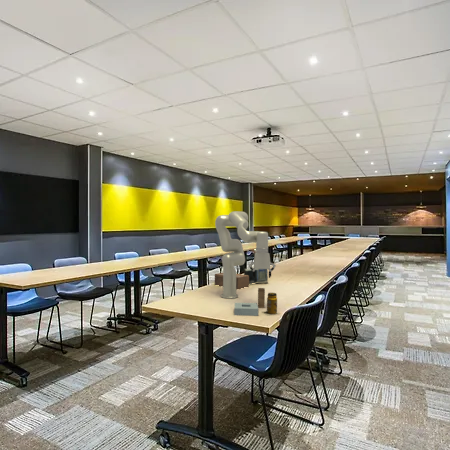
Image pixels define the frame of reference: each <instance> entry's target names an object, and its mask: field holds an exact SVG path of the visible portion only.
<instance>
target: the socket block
mask: <svg viewBox="0 0 450 450" xmlns="http://www.w3.org/2000/svg"><path fill="white" fill-rule="evenodd" d="M233 313H234V316H252V317H253V316H254V317H257V316H259V308H258V302H257V303H256V302H234V312H233Z"/></svg>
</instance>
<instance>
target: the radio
mask: <svg viewBox="0 0 450 450" xmlns="http://www.w3.org/2000/svg"><path fill="white" fill-rule="evenodd" d="M268 274H269V270H268V269H256V270H255V278H254V276H253V271H252V270H251V269H250V268H244V269H243V275H248V276H249V284H250V285H253V284H252V283H265V284H269V282H268V281H269V280H268V279H269V275H268Z"/></svg>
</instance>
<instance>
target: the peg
mask: <svg viewBox="0 0 450 450" xmlns="http://www.w3.org/2000/svg"><path fill="white" fill-rule="evenodd" d="M265 290H266V288H265V287H257V305H258V309H265V308H266V307H265V305H266V304H265V303H266V301H265V299H266V296H265V295H266V291H265Z"/></svg>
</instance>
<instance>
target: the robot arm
mask: <svg viewBox="0 0 450 450" xmlns="http://www.w3.org/2000/svg"><path fill="white" fill-rule="evenodd" d="M248 221H249V215H248V213H247V212H245V211H236V210H235V211H231V212H229V214H222V215H218V216H217V217H216V219H215V221H214V223H215V225H214V226H215V229H216V232H217V234H218V238H219V242H220V247H221V250H222V252H224V253H225V254H224V255H222V257H221V262H222V273H223V287H222V293H221V294H220V297H221V298H223V299H236V298H239V294H237V289H236V274H237V270H236V269H235V267H239V266H243V265H244V264H245V263H246V256H245V252H244V251H245V250H244V247H243V243H242V242H241V240H242V241H243V242H244V243H248V244H251V243H253V244H254V243H256V246H255V247H256V248H254V249H253V252H255V253H254V257H253V258H254V259H253V261H252V262H250V263H248V267H249V269H251V270H252V271H253V276H254V278H255V270H256V269H267V271H268V279H271V277H272V272H273V271H274V270H275V268H276V266H277V265H276V264H275V263H273V262H271V257H270V253H269V233H268V231H258V230H256V231H255V230H247V229H248V227H249V222H248ZM227 227H230V228H231V227H235V228H236V229H237V236H238V237H239V238H240V239H237V238H232V237H231V233H230V231H229V229H228V228H227ZM252 266H253V267H252Z"/></svg>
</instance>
